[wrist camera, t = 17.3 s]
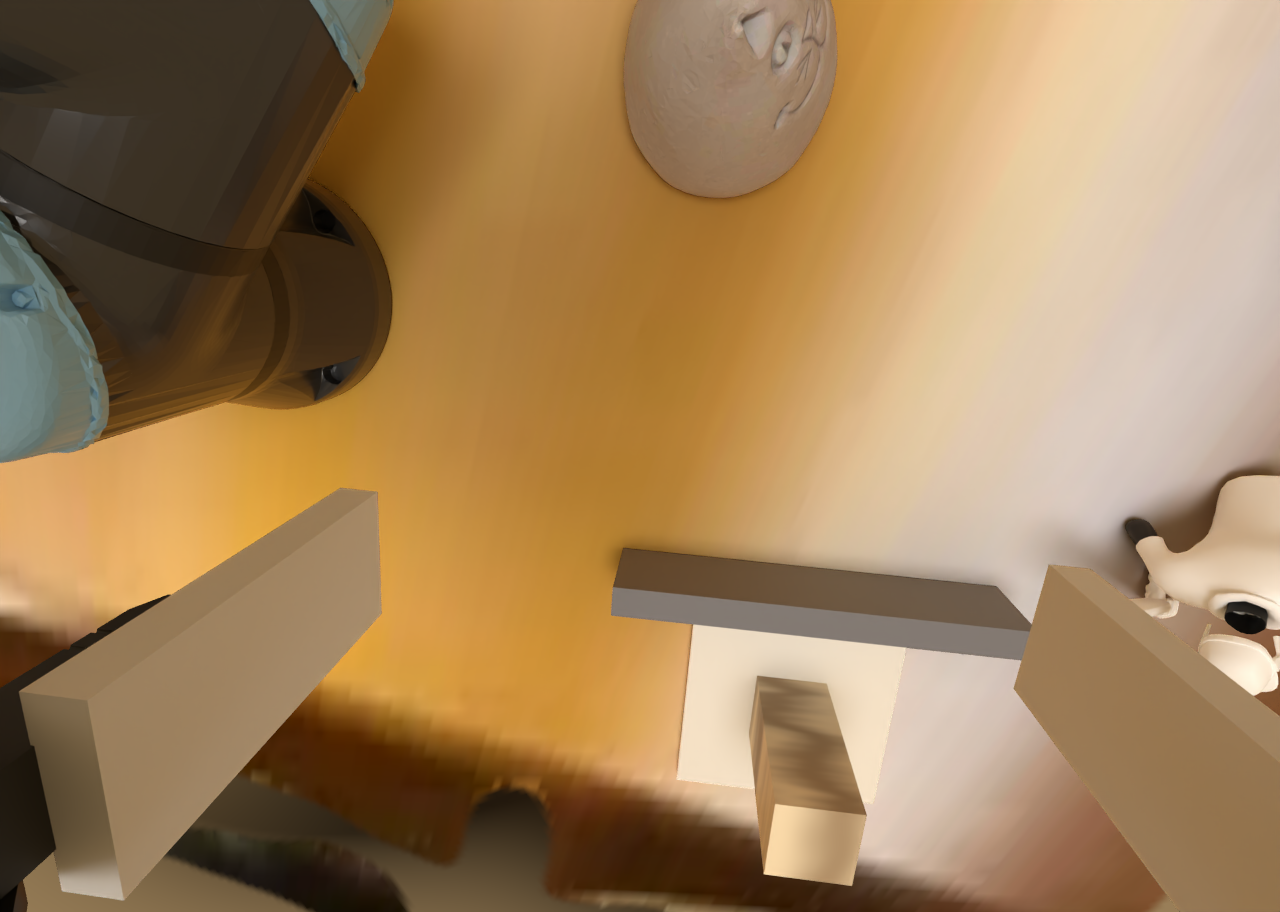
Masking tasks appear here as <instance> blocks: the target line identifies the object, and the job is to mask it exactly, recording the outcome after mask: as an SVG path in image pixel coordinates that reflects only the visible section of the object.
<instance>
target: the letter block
mask: <svg viewBox="0 0 1280 912" xmlns="http://www.w3.org/2000/svg"><path fill="white" fill-rule="evenodd" d="M749 738H750V748H751V757H752V767H753V776H754V786H755V795H756V805H757V814H758V823H759V833H760V842H761V852H762V861H763V871H764V874H767V875H774V876H782V877H789V878H797V879H805V880H812V881H820V882H827V883H835V884H842V885H850V886H852V883H853V878H854V873H855V868H856V864H857V859H858V854H859V849H860V845H861V840H862V835H863V830H864V826H865V821H866V816H867V815H866V812H865V808H864V805H863V802H862V798H861V795H860V792H859V789H858V785H857V782H856V779H855V775H854V772H853V769H852V765H851V762H850V759H849V756H848V752H847V749H846V746H845V742H844V739H843V736H842V733H841V729H840V726H839V723H838V719H837V716H836V713H835V709H834V706H833V703H832V700H831V696H830V693H829V690H828V686H827V683H818V682H809V681H800V680H792V679H783V678H774V677H765V676H757V680H756V687H755V694H754V701H753V708H752V715H751V722H750V729H749Z"/></svg>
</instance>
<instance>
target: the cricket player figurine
mask: <svg viewBox="0 0 1280 912" xmlns="http://www.w3.org/2000/svg"><path fill="white" fill-rule="evenodd" d="M1126 531H1127V532H1128V534H1129V536H1130V538H1131V539H1132V540H1133V542H1134V543H1135V545H1136V550H1137V552H1138V553H1139V555H1140V556H1141V558H1142V559H1143V561H1144V563H1145V565H1146V567H1147V569H1148V571H1149V575H1148V579H1149V581H1150V583H1149V584H1147V585H1146V592H1147V593H1145V598H1135V599H1130V600H1131V601H1132V602H1134V603H1135V604H1136V605H1137V606H1139V607H1140V608H1141V609H1143V610H1144V611H1145V612H1146V613H1148V614H1149V615H1150V616H1151V617H1154V616H1156V617H1158V618H1161V619H1162V618H1168V617H1173V616H1175V615H1176V614H1177V611H1178V607H1179V601H1180V602H1182V603H1184V604H1187V605H1191V606H1194V607H1198V608H1203V609H1207V610H1209V611H1210V612H1211V613H1212V614H1213V615H1215V616H1216V617H1218V618H1220V619H1222V620H1225V621H1226V622H1227V623H1228V624H1229V625H1230V626H1232V627H1233V628H1234V629H1236V630H1237V631H1239V632H1241V633H1245V634H1256V633H1258V632H1261V631H1262V630H1264V629H1265V628H1267V629H1275V630H1277V629H1280V476H1266V475H1252V476H1241V477H1238V478H1235V479H1233V480H1230V481H1227V483H1226V484H1225V485H1224V486H1223V488H1222V489H1221V490H1220V494H1219V497H1218V501H1217V505H1216V512H1215V515H1214V518H1213V523H1212V526H1211V528H1210V530H1209V533H1208V534H1207V536H1206V537H1205V538H1204V539H1203V540H1202V541H1201V542H1199V543H1197V544H1196V545H1195V546H1193V547H1192V548H1191V549H1190V550H1188V551H1185V552H1182V553H1173V552H1171V551H1170V550H1169V549H1168V548H1167V546H1166V545H1165V542H1164V540H1163V538H1162V537H1158V535H1157V533H1156V532H1155V530H1154V528H1153V527H1152V526H1151V525H1150V523H1149V522H1147V521H1145V520H1141V519H1137V520H1132V521H1130V522H1128V523H1127V525H1126ZM1166 594H1168V595H1169V596H1171V597H1172V598H1166V599H1165V597H1166ZM1210 628H1211V625H1210V624H1209V623H1208V624H1207V626H1206V629H1205V631H1204V633H1203V636H1202V638H1201V641H1200V645H1199V648H1198V653H1199V654H1200V655H1201V656H1203V657H1204V658H1205V659H1207V660H1208V661H1209V662H1210V663H1212V664H1213V665H1214V666H1216V667H1217V668H1218V669H1219V670H1221V671H1222V672H1223V673H1225V674H1226V675H1227V676H1228V677H1230V678H1231V679H1232V680H1234V681H1235V682H1236V683H1237V684H1239V685H1240V686H1241V687H1242V688H1244V689H1245V690H1246V691H1248V692H1249V693H1250V694H1251V695H1253V696H1254V695H1257V694H1258V693H1260V692H1268V691H1273V690H1274V689H1276V688H1277V686H1278V675H1277V672H1279V670H1280V637H1279V636H1273V639H1274V644H1275V649H1276V656H1275V657H1274V658H1273V659H1272V657H1271V656H1270V654H1269V653H1268V651H1267V650H1266V649H1265V648H1264V647H1263V646H1262V645H1260V644H1259V643H1256V642H1253V641H1251V640H1248V639H1245V638H1241V637H1237V636H1232V635H1224V634H1210V635H1208V634H1209V631H1210Z"/></svg>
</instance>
